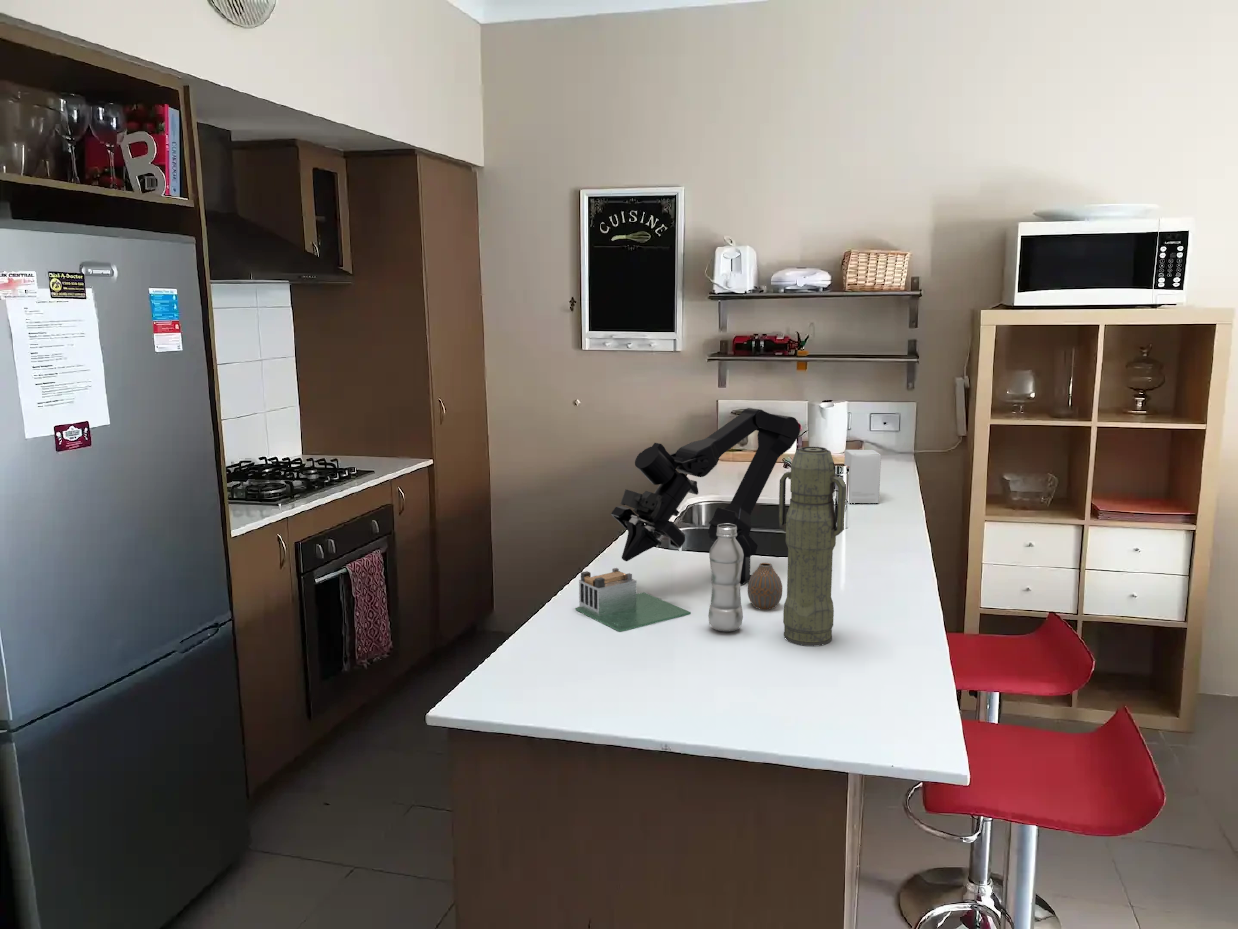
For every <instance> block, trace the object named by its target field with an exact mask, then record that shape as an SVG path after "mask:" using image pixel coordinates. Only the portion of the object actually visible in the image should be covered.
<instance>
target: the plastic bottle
mask: <svg viewBox="0 0 1238 929" xmlns="http://www.w3.org/2000/svg"><path fill="white" fill-rule="evenodd" d="M716 535H717V536H718V539H717V540H716V541H715V543H714V544H713V543H712V546H711V547H710V548H709V552H708V554H709V563H710V571H711V595H710V604H709V609H708V621H709V625H710V626H711V628H712V629H713V630H714V631H719V632H734V631H737V630H739V629H740V627H742V624H743V620H744V613H743V607H742V600H741V596H742V595H741V584H740V581H741V570H742V564H743V556H744V554H743V550H742V548H741V546H740V544H739V543H738V541H737V540H736V538H735V537H736V536H737V527H736V525H734V524H719V525H717V533H716Z"/></svg>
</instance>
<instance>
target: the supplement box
mask: <svg viewBox="0 0 1238 929" xmlns="http://www.w3.org/2000/svg"><path fill="white" fill-rule="evenodd" d="M843 463H844V465H847V466H850V468H849V503H848V504H849V505H856V504H855V503H879V504H880V486H881V468H882V467H881V465H882V454H880V453H879V452H878V451H877V450H875V449H845V450H844V462H843ZM850 503H851V504H850ZM852 503H854V504H852Z"/></svg>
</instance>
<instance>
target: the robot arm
mask: <svg viewBox="0 0 1238 929" xmlns="http://www.w3.org/2000/svg"><path fill="white" fill-rule="evenodd" d="M756 431H758V432H757V446H758V447H757V449H756V451H755V453H754V456H753V457H752V460H751V461H750V464H749V465H748V467H747V469H746V471H745V473H744V475H743V476H742V479H741V481H740V484H739V485H738V488H737V489H736V492H735V493H734V496H733V497H732V499H731V502H730V503H729V505H727V506H726V507H725V508H721V507H717V508H716V509H715V512H714V515H713V516H712V518H711V520H710V521H708V524H709V527H708V534H709V536H708V537H709V539H710V541H711V543H712V545H713V544H714V543H715V541H716V540H717V539H718V536H717V535H716V533H717V525H719V524H734V525H736V527H737V536H736V537H735V538H736V540H737V541H738V543H739V544H740V546H741V548H742V550H743V554H744V556H743V564H742V570H741V581H740V585H745V584H746V583H747V582H749V580H750V577H751V576H752V574H751V558H752V556H755V555H756V553H757V550H758V547H759V545H758V544H757V543H756V542H755V541H754V540H753V539H752V537H751V536H750V533H751V530H752V519H751V518H752V517H751V516H752V512H753V511H754V509H755V506H756V504H757V502H758V500H759V498H760V496H761V494H762V492H763V490H764V488H765V486H766V484H767V481H768V479H769V478H770V475H771V474H772V472H773V469H774V468H775V466H776V464H777V462H778V459H779V458H780V457H781V456H782V455H784V454H785V453H786V452H788V451H789V450H791V448H792V447H793V445H794V444H795V442H796V441H797V439H798V438H799V436H800V432H801V428H800V424H799V422H798V420H797V419H796V417H793V416H788V415H781V414H775V413H769V412H766V411H765V410H763V409H758V408H753V407H747V408H745V409H743V410H742V411H741V413H739V414H738V415H737V416H735V417H733V419H732V420H730V421H728V422H727V423H726V424H724V425H723V426H722V427H720V428H719V429H718V430H717V429H716V431H714V432H713V433H712V434H710V435H709V436H707V437H705V438H704V439H700V440H696V441H691V442H689V443H687V444H685V445H683V446H681V447H679V448H678V449H677V450H676V451H675V452H673V453H671V454H670V453H669V452H668V450H667V449H666V448H665V446H664V445H663V444H662V443H659V442H654V443H653V444H652V446H648V447H646V448H644V450H642V451H641V452H639V453H638V454H637V456H636V457H635V460H634V465H635V468H636V469H638V471H640V473H641V474H642V475H644V476H645V478H646V479H647V480H648V481H649V482H650V483H651V484H652V485H654V486H657V488H656V489H655V491H654V492H651V491H647V490H645V491H644V492H643V493H639V492H637V491H632V490H629V489H625V490H624V493H623V495H622V498H621V501H620V505H619V506H615V507H614V508H613V510H612V511H611V512H610V515H611V516H612V518H614V519H615V520H616V521H617V522H618V523H619V524H620V525H621V526H622V527H623V528H624V529H625V530H627V532H628V533H627V536H626V542H625V545H624V549H623V552H622V554H621V560H623V561H624V562H628V561H630V560H632V559H634V558H636V557H637V556H639V555H641V554H643V553H645V552H647V551H649V550H650V549H652V548H654V547H657V546H661V545H662V542H661V540H662V538H663V537H667V538H668V539H669V540H670V541H669V542H670V544H669V545H670V546H672V547H675V548H678V549H681V548H682V546H683V545H684V544H685V542H686V534H685V533H684V532H683V531H682V530H681V529H680V528H679V527H678V526H677V525H676V524H675V523H674V522H673V521H670V520H671V518H672V516H675V517H678V515H679V514H680V511H679V510H678V509H679V506H680V505H681V503H683V500H684V499H685V498H686V497H687V495H688V493H690V494H692V495H693V494H694V495H698V494H699V488H698V481H697V480H694V479H690V478H689V477H688V476H687V475H689V476H693V477H696V478H697V477H698V478H703V477H706V476H707V475H708V474H709V473H711V472H712V470H714V468H715V467H717V465H718V462H719V459H720V458H721V457H722V456H723V455H724V454H725V453H727V452H728V451H730V450H731V449H732V448H733V447H735V446H736V445H738V444H739V443H740V442H742V441H743V440H745V439H746V438H747V437H748V436H750V435H751V434H753V433H754V432H756ZM625 505H626V506H628V507H626V506H625ZM632 509H633V510H632Z"/></svg>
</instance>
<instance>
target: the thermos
mask: <svg viewBox="0 0 1238 929" xmlns="http://www.w3.org/2000/svg"><path fill="white" fill-rule="evenodd" d="M790 464H791V465H790V471H786V472H784V473H783V475H782V476H781V477H780V479H779V487H778V488H779V489H778V490H779V493H778V496H779V497H778V524H779V529H782V530H783V532H785V544H786V547H787V548H788V549H787V578H786V579H787V581H786V582H787V583H786V599H785V601H784V605H783V612H782V613H783V616H782V618H783V619H782V621H783V622H782V623H783V626H784V629H783V630H784V631H783V638H784V639H785V638H786V639H787V640H788V641H787V640H786V639H785V640H786V641H787V642H789V643H791V644H794V645H798V644H802V645H801V646H804V645H813V646H812V647H815V646H814V645H819V646H823V645H822V644H824V645H827V644H829V643H830V641H831V642H832V640H833V633H832V631H833V627H834V615H835V614H834V612H835V611H834V602H833V599H832V583H833V582H832V581H833V555H834V553H833V552H834V549H835V547H836V543H837V542H836V541H837V539H836V538H837V536H839V535H840V534H841V533H842V532H843V531H845V513H846V512H845V511H846V484H845V482H844V478H842V477H840V476H838V475H836V474H835V470H836V468H835V467H836V466H835V462H834V458H833V455H832V452H831V451H830V450H828V448H826V447H822V446H821V447H820V446H802V447H800V448H799V449H798V448H797V449H796V450H795V453H794V455H793V458H792V461H791V463H790ZM787 479H788V480H790V493H791V495H790V497H791V498H790V499H789V507H788V508H787V509H788V510H787V512H786V490H787V488H786V485H787V483H786V482H787ZM835 484H836V486H837V510H836V511H837V512H836V511H835V508H834V502H835V501H834V498H833V496H834V495H833V494H834V492H835ZM836 513H837V514H836ZM831 639H832V640H831Z"/></svg>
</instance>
